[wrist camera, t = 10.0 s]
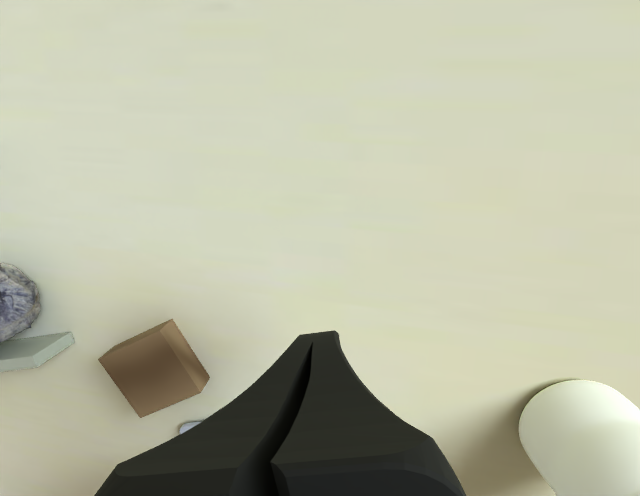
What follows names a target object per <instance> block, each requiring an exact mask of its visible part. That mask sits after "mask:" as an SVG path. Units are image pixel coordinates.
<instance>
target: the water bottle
mask: <svg viewBox="0 0 640 496" xmlns="http://www.w3.org/2000/svg"><path fill="white" fill-rule="evenodd" d="M519 437H520V441H521V443H522V445H523V448H524V450H525V451H526V453H527V455H528V456H529V458H530V459H531V461H532V463H533V464H534V466H535V467H536V468H537V470H538V471H539V473H540V474H541V476H542V477H543V478H544V480H545V481H546V482H547V483H548V485H549V486H550V487H551V488H552V489H553V491H554V492H555V493H556V496H640V409H638V408H637V407H636V406H635V405H634V404H633V403H632V402H630V401H629V400H628V399H627V398H626V397H624V396H623V395H622V394H621V393H619V392H618V391H616V390H615V389H613V388H611V387H609V386H607V385H605V384H602V383H599V382H595V381H590V380H569V381H564V382H560V383H556V384H554V385H551V386H549V387H547V388H545V389H543V390H542V391H540V392H539V393H537V394H536V395H535V396H534V397H533V398H532V399H531V400H530V401H529V402H528V404H527V405H526V406H525V408H524V410H523V412H522V414H521V417H520V421H519Z"/></svg>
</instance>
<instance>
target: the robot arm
mask: <svg viewBox="0 0 640 496" xmlns="http://www.w3.org/2000/svg"><path fill="white" fill-rule="evenodd" d="M179 431H180V435H178V436H176V437H174V438H173V439H171V440H169V441H167V442H165V443H163V444H161V445H159V446H157V447H155V448H153V449H150V450H148V451H146V452H144V453H142V454H140V455H138V456H135V457H133V458H131V459H129V460H127V461H124V462H122V463H120V464H118V465H117V466H116V467H115V469H114V470H113V471H112V473H111V474H110V475H109V477H108V478H107V479H106V481H105V482H104V483H103V485H102V486H101V487H100V489H99V490H98V491H97V493H96V494H95V496H466V494H465V492H464V490H463V488H462V486H461V484H460V482H459V480H458V478H457V476H456V475H455V473H454V471H453V469H452V468H451V466H450V464H449V463H448V461H447V459H446V458H445V456H444V455H443V453H442V452H441V450H440V449H439V447H438V445H437V444H436V443H435V441H434V440H433V438H431V437H430V436H429V435H427V434H425V433H423V432H422V431H420V430H418V429H416V428H415V427H413V426H411V425H410V424H408V423H406V422H404V421H403V420H402V419H400V418H399V417H398V416H396V415H395V414H394V413H393V412H392V411H390V410H389V409H388V408H387V407H386V406H385V405H383V404H382V403H381V402H380V401H379V400H378V399H377V398H376V397H375V396H374V395H373V394H372V393H371V392H370V391H369V390H368V389H367V387H366V386H365V385H364V384H363V383H362V381H361V380H360V379H359V378H358V376H357V375H356V373H355V372H354V370H353V369H352V367H351V366H350V364H349V363H348V361H347V359H346V357H345V355H344V353H343V351H342V349H341V346H340V340H339V334H338V333H337V332H336V331H327V332H319V333H311V334H303V335H299V336H298V337H297V338H296V339H295V341H294V342H293V343H292V344H291V345H290V346H289V347H288V349H287V350H286V351H285V352H284V353H283V354H282V355H281V356H280V357H279V359H278V360H277V361H276V362H275V363H274V364H273V365H272V366H271V367H270V368H269V369H268V370H267V371H266V372H265V373H264V374H263V375H262V376H261V377H260V378H259V379H258V380H257V381H256V382H255V383H253V384H252V385H251V386H250V387H249V388H248V389H247V390H245V391H244V392H243V393H242V394H240V395H239V396H238V397H237V398H235V399H234V400H233V401H232V402H230V403H229V404H228V405H226V406H225V407H223V408H222V409H220V410H219V411H217V412H216V413H214V414H213V415H211V416H210V417H208V418H207V419H205V420H204V421H202V422H193V423H185V424H183V425H182V426H181V428H180V430H179Z"/></svg>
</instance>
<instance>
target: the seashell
mask: <svg viewBox="0 0 640 496" xmlns="http://www.w3.org/2000/svg"><path fill="white" fill-rule="evenodd" d="M39 298H40V297H39V293H38V290H37V287H36V286H35V284H34V282H33V281H30V280H29V279H28V278H27V277H26V276H25V275H24V274H23V273H22V272H21V271H20V270H19V269H18V268H16V267H14V266H11V265H7V264H5V263H0V342H3V341H6V340H7V339H9V338H10V337H13V336H14V335H15V334H17V333H20V332H22V330H25V329H28V328H31V323H32V322H33V321H34V319H36V318H37V316H38V314H39V312H40V303H39Z"/></svg>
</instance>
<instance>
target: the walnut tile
mask: <svg viewBox="0 0 640 496" xmlns="http://www.w3.org/2000/svg"><path fill="white" fill-rule="evenodd" d="M98 360H99V362H100V363H101V364H102V366H103V367H104V368H105V370H106V371H107V373H108V374H109V375H110V377H111V378H112V380H113V381H114V382H115V384H116V385H117V386H118V388H119V389H120V391H121V392H122V393H123V395H124V396H125V398H126V399H127V400H128V402H129V403H130V404H131V406H132V407H133V409H134V410H135V411H136V413H137V414H138V416H139V417H140V418H142V417H144V416H146V415H149V414H151V413H153V412H156V411H158V410H161V409H163V408H165V407H168V406H170V405H172V404H175V403H177V402H180V401H182V400H184V399H187V398H189V397H192V396H194V395H196V394H199V393H201V391H202V390H203V388H204V386H205V385H206V383H207V382H208V380H209V378H210V377H209V375H208V374H207V372H206V370H205V369H204V367H203V366H202V364H201V363H200V361H199V360H198V358H197V357H196V355H195V353H194V352H193V350H192V349H191V347H190V346H189V344H188V343H187V341H186V339H185V338H184V336H183V335H182V333H181V332H180V330H179V329H178V327H177V326H176V324H175V322H174V321H173V319H171V320H169V321H167V322H164V323H162V324H160V325H158V326H156V327H154V328H152V329H150V330H148V331H145V332H143V333H141V334H139V335H137V336H135V337H133V338H131V339H128V340H126V341H124V342H122V343H120V344H118V345H116V346H114V347H113V348H112V349H110V350H109V351H108V352H107V353H105V354H104V355H103V356H102V357H100V358H99V359H98Z"/></svg>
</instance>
